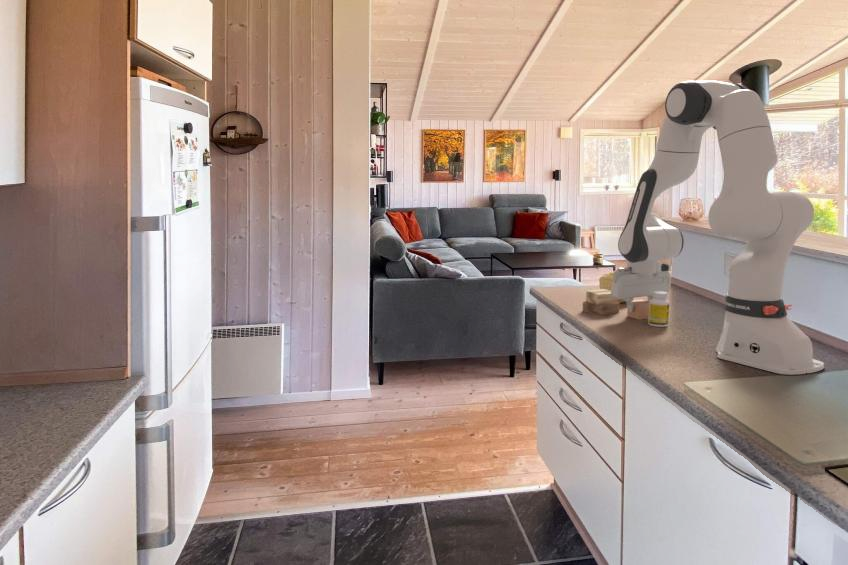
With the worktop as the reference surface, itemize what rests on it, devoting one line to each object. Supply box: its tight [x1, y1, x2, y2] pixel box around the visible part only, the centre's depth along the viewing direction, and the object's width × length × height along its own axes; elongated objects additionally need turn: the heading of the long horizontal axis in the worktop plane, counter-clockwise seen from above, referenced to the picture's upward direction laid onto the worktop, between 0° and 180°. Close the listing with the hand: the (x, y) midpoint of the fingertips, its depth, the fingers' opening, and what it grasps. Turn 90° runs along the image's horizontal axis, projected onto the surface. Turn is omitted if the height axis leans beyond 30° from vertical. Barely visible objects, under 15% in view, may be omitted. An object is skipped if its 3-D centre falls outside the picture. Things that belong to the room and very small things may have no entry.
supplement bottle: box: [647, 291, 670, 328], centre depth 166 cm, size 5×5×10 cm
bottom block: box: [582, 300, 620, 316], centre depth 185 cm, size 8×8×4 cm
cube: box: [626, 298, 650, 320], centre depth 177 cm, size 5×5×5 cm
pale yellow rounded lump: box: [598, 270, 626, 304], centre depth 200 cm, size 11×12×11 cm
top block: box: [585, 288, 617, 305], centre depth 184 cm, size 7×7×4 cm
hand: (639, 310), depth 177 cm, fingers closed on cube, 5 cm apart
